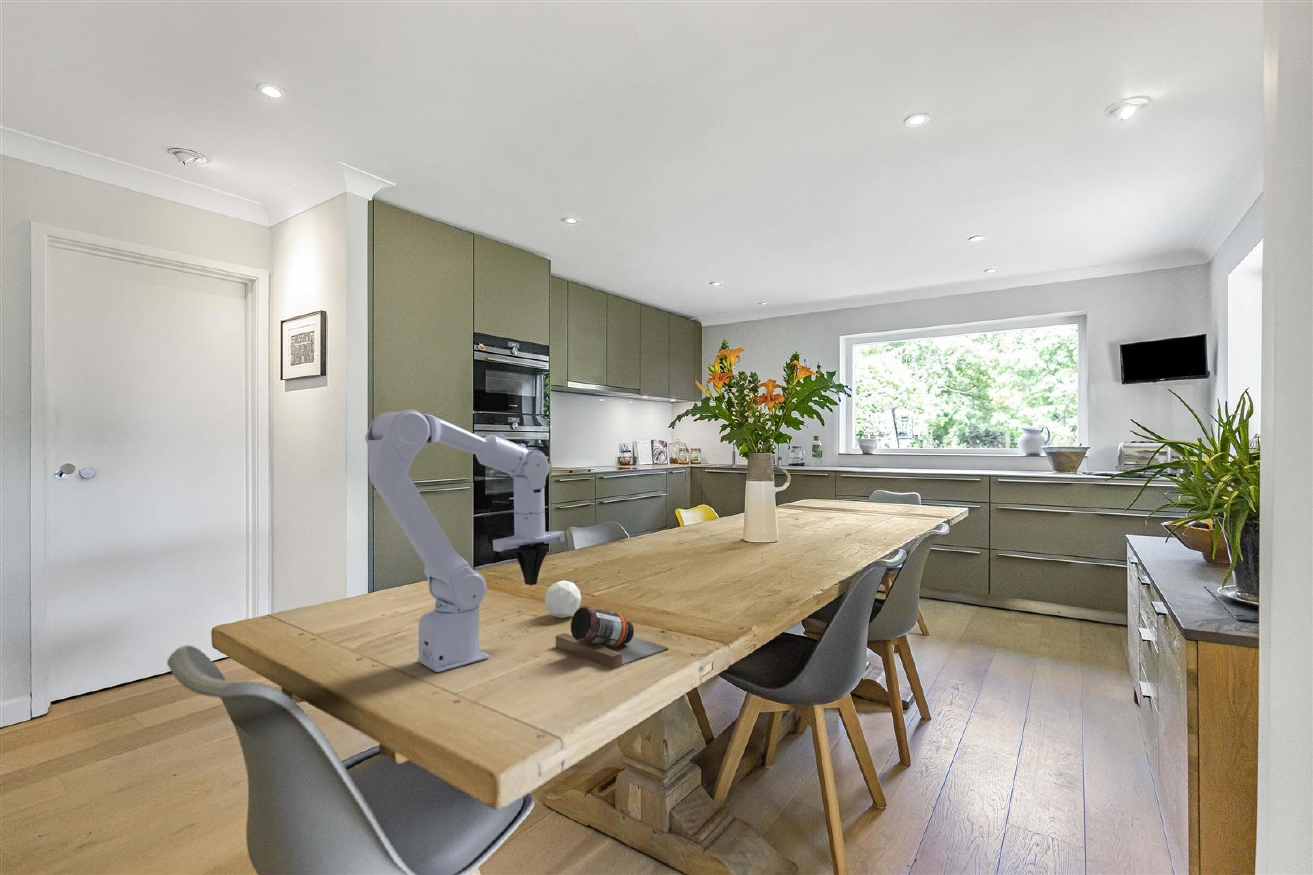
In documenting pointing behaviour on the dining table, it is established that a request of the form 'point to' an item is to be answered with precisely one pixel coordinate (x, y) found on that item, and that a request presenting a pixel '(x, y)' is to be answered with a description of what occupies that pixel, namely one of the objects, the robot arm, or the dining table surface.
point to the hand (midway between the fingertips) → (530, 583)
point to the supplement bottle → (601, 627)
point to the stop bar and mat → (609, 650)
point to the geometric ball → (562, 599)
